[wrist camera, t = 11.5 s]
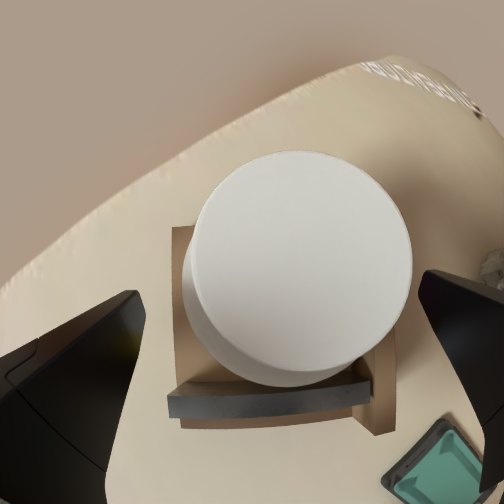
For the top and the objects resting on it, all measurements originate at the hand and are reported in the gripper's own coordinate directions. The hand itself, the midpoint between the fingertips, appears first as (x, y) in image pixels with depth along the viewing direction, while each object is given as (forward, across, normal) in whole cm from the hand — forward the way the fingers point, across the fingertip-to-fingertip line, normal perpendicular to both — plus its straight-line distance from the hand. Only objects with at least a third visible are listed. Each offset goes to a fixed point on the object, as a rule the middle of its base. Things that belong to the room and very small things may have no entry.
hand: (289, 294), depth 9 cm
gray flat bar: (+3, -1, -10) cm, 11 cm away
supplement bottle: (+7, 0, -7) cm, 10 cm away
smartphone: (-4, +15, -22) cm, 27 cm away
